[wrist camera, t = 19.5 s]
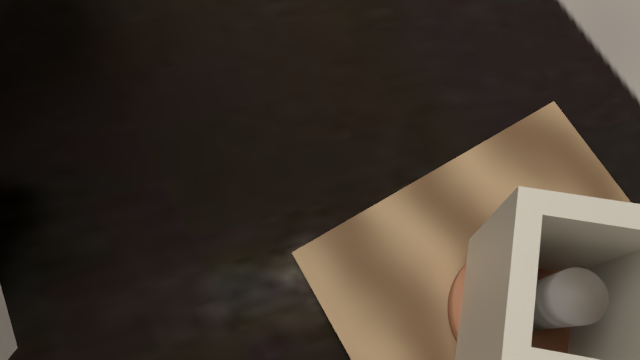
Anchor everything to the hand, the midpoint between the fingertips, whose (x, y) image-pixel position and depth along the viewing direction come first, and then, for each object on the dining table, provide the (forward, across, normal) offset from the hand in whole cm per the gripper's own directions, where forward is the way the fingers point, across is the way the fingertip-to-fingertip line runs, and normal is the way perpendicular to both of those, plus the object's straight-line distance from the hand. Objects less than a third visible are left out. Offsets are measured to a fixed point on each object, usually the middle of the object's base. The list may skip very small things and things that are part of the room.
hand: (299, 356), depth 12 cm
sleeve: (+18, +10, -13) cm, 25 cm away
